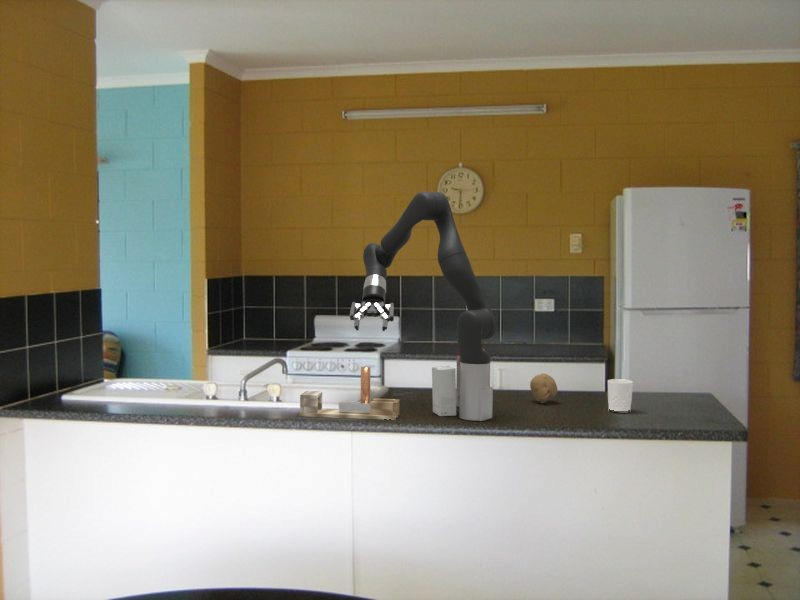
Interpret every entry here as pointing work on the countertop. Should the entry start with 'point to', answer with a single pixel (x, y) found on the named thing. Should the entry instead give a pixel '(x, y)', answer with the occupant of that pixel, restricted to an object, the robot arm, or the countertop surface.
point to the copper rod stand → (365, 396)
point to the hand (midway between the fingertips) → (370, 329)
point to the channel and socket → (313, 408)
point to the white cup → (620, 394)
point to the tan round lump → (543, 387)
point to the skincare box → (444, 390)
